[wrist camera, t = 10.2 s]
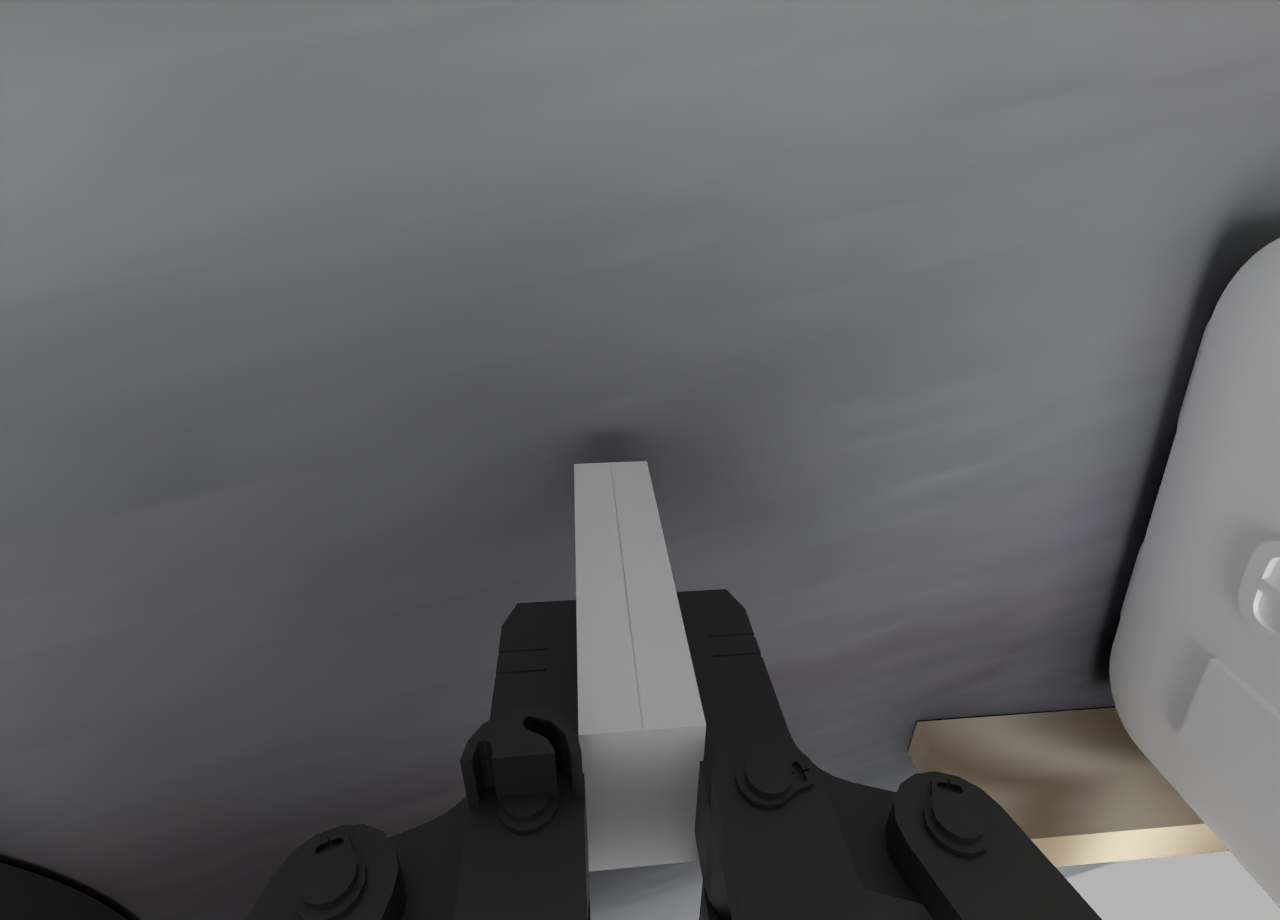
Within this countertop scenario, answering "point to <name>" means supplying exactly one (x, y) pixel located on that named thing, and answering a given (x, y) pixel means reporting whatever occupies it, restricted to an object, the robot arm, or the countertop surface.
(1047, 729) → the wooden tray
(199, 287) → the countertop surface
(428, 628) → the countertop surface
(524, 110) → the countertop surface
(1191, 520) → the cable organizer
